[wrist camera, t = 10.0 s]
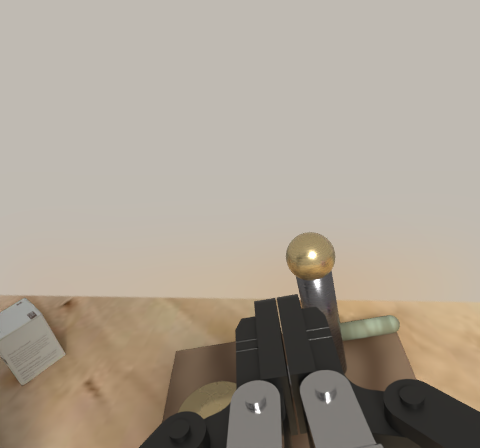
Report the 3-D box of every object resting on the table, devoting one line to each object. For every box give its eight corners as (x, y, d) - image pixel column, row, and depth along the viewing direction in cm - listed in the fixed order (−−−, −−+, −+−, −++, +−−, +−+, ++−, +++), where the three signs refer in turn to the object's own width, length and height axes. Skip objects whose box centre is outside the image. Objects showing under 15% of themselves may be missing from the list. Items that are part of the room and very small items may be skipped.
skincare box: (6, 366, 57) (-23, 324, 53) (49, 336, 60) (24, 295, 56) (22, 387, 52) (-8, 344, 49) (67, 354, 56) (42, 311, 52)
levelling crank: (198, 486, 35) (133, 353, 28) (174, 422, 41) (114, 298, 34) (371, 381, 40) (354, 243, 32) (327, 337, 46) (304, 212, 38)
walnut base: (148, 534, 34) (134, 512, 33) (179, 360, 50) (171, 340, 49) (468, 501, 31) (469, 475, 30) (395, 326, 47) (393, 303, 45)
